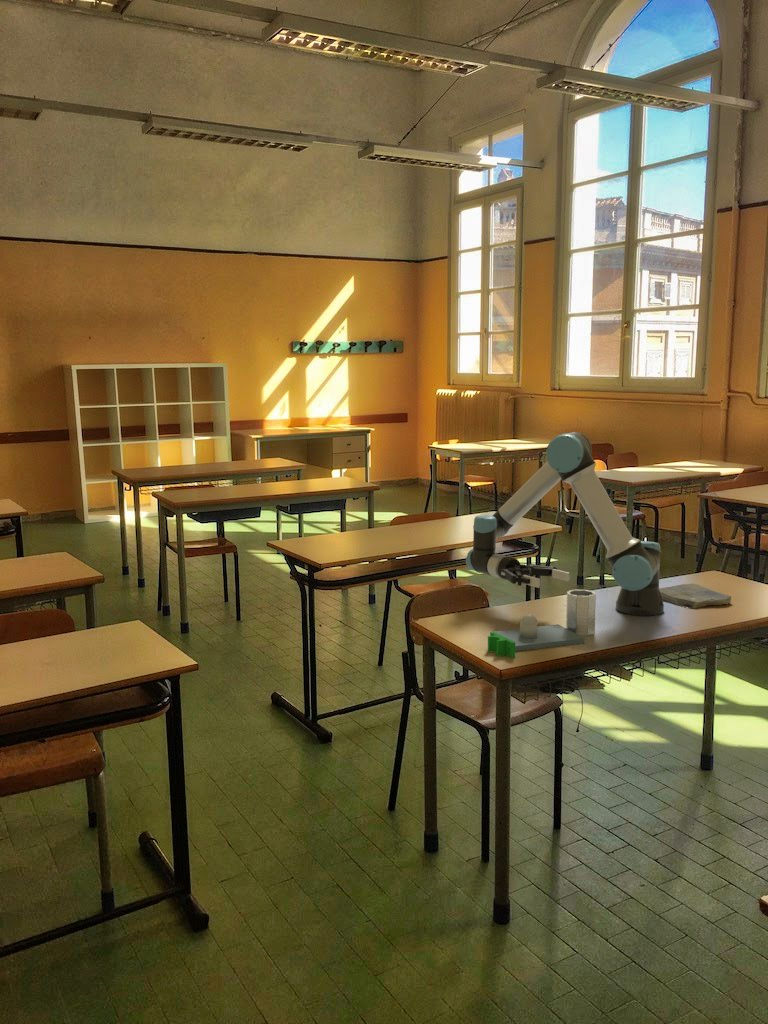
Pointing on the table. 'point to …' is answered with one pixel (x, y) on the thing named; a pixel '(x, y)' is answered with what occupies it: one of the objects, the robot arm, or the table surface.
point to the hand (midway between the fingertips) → (554, 580)
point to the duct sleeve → (581, 612)
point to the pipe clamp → (501, 645)
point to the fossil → (693, 596)
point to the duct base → (539, 635)
